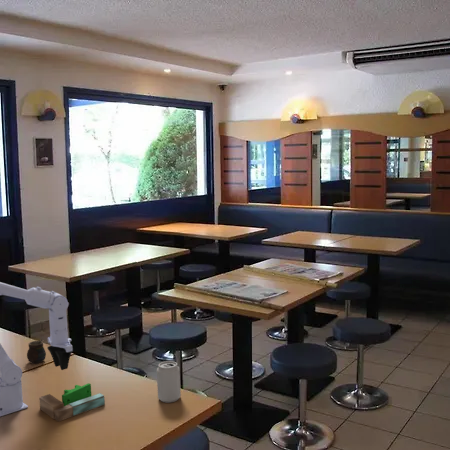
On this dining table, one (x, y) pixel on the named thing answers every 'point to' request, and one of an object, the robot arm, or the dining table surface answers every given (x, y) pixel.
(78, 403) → the rail
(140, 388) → the dining table surface
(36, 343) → the mate gourd
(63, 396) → the pipe clamp
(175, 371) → the can
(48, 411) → the brown wooden block
